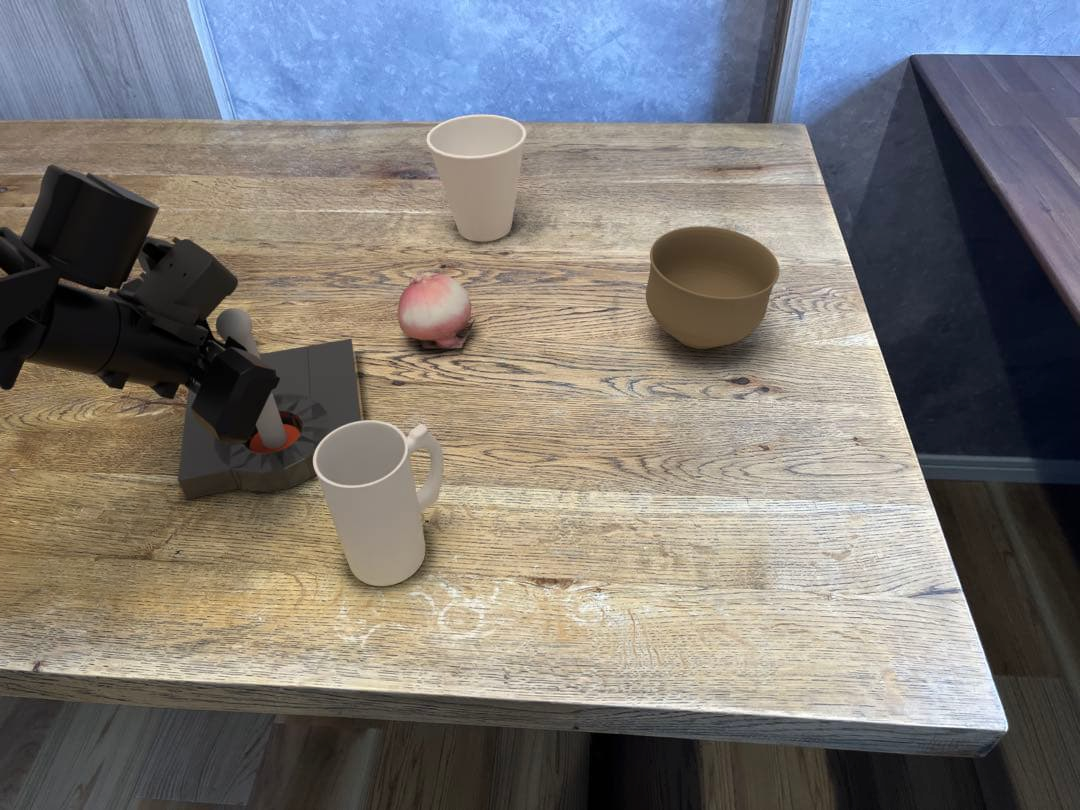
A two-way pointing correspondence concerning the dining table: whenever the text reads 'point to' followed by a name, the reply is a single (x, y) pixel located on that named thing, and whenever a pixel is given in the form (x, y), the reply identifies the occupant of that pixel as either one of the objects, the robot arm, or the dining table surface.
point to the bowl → (709, 285)
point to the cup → (479, 171)
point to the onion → (435, 311)
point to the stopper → (269, 423)
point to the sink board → (302, 401)
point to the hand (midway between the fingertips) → (269, 376)
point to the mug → (378, 496)
